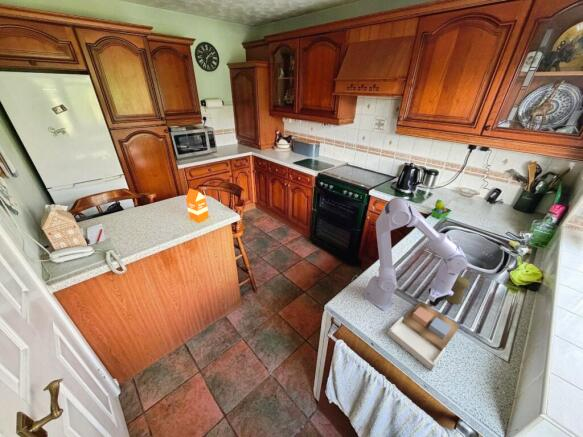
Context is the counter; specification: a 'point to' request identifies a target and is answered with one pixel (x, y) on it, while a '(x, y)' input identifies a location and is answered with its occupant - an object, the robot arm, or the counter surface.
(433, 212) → the fruit basket
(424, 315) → the terracotta tile
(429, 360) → the tray
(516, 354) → the counter surface
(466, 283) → the olive lobed plate
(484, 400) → the counter surface
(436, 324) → the slate tile
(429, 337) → the oak board
